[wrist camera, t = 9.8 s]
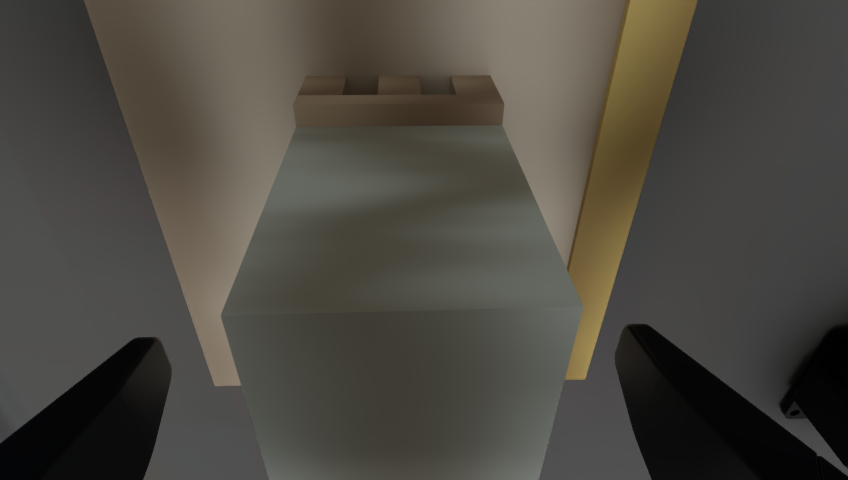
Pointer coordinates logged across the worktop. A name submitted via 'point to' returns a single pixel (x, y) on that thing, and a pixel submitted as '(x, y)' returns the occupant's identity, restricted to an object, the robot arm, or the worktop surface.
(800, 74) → the worktop surface
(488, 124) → the block
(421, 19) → the dock
